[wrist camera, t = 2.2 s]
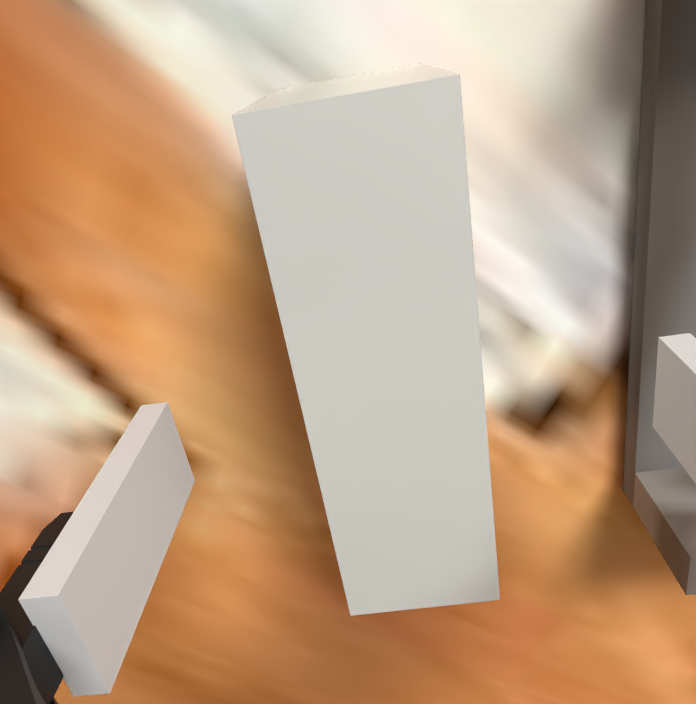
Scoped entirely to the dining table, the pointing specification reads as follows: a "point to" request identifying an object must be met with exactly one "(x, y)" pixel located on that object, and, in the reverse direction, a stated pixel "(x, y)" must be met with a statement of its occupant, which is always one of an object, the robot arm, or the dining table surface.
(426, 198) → the light grey block
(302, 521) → the dining table surface
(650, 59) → the cradle rack
